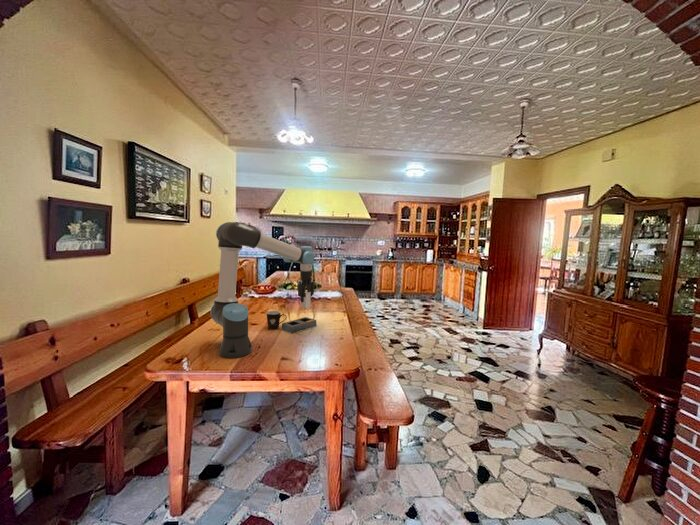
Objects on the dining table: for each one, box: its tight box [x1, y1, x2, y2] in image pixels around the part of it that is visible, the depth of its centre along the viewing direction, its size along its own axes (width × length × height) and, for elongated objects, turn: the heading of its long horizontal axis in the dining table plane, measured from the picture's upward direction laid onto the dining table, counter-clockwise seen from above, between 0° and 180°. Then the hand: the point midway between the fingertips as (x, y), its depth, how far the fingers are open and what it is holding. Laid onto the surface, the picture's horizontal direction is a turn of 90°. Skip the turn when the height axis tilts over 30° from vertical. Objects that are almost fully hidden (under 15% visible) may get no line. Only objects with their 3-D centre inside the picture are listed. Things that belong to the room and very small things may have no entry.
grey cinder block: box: [281, 316, 317, 334], centre depth 186 cm, size 20×10×4 cm, turn 141°
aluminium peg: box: [302, 290, 312, 309], centre depth 188 cm, size 4×4×10 cm
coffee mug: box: [266, 310, 287, 331], centre depth 183 cm, size 12×9×10 cm
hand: (305, 306), depth 188 cm, fingers closed on aluminium peg, 4 cm apart
